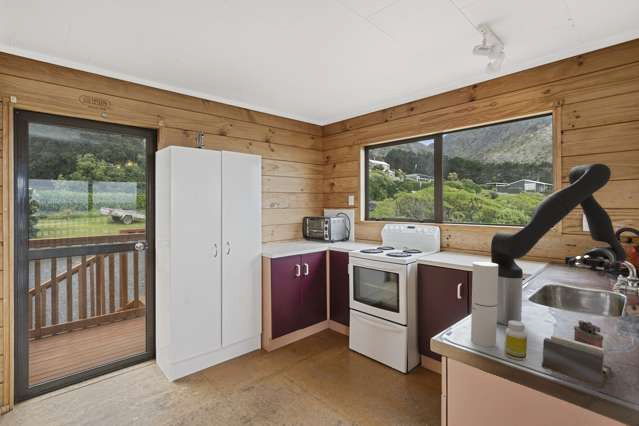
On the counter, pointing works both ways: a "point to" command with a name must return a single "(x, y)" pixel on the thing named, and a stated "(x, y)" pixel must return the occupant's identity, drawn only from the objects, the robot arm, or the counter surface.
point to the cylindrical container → (484, 303)
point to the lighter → (588, 334)
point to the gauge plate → (579, 345)
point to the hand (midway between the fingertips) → (587, 265)
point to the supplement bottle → (515, 340)
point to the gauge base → (574, 362)
